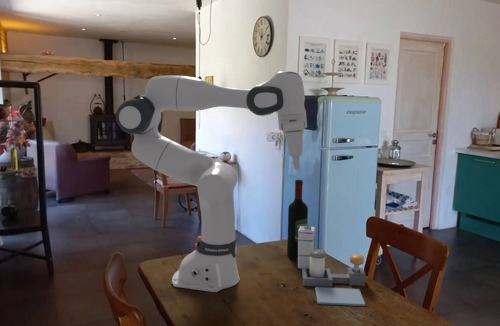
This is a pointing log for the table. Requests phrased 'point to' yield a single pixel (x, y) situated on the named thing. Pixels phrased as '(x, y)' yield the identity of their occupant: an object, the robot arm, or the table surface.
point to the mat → (339, 296)
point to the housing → (334, 278)
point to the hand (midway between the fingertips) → (296, 166)
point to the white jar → (317, 263)
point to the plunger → (356, 261)
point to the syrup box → (305, 245)
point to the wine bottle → (296, 220)
